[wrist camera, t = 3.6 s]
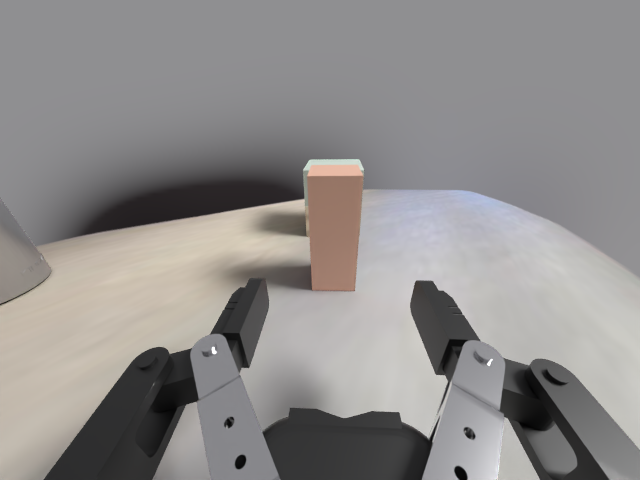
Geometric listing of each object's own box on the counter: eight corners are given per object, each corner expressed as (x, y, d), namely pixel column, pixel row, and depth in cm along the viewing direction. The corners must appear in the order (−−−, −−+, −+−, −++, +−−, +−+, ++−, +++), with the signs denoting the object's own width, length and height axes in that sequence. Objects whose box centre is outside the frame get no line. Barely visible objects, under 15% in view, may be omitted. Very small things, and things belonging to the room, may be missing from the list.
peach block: (354, 291, 24) (363, 175, 18) (312, 290, 24) (307, 176, 18) (351, 266, 28) (357, 164, 22) (314, 265, 28) (311, 165, 22)
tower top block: (361, 206, 32) (364, 170, 30) (305, 206, 33) (303, 170, 30) (357, 189, 39) (359, 159, 37) (310, 189, 40) (309, 159, 37)
